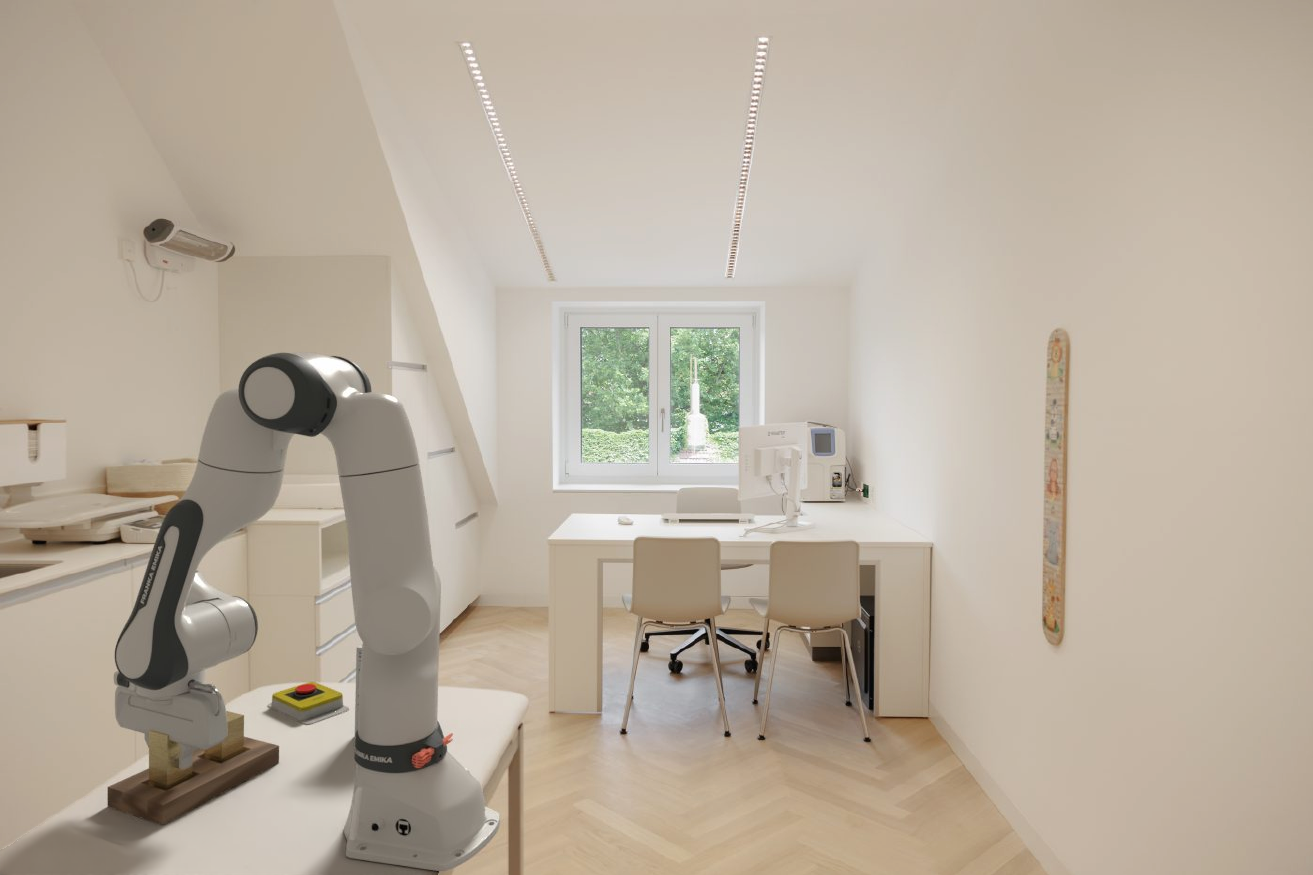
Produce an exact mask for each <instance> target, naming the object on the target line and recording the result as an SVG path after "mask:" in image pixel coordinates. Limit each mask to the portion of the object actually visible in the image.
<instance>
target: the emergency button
mask: <svg viewBox="0 0 1313 875" xmlns="http://www.w3.org/2000/svg"><path fill="white" fill-rule="evenodd" d="M343 699H344V697H343V693H342V692H339V691H338V690H335V689H333V688H331V687H328V686H325V685H324V684H321V683H319V682H316V681H308V682H305V683H301V684H298V685H296V686H291V687H290V688H286V689H284V690H280V691H276V692H274V693H273V694H272V697H271V702H270V703H268V704H267V707H268V708H269V709H272V710H273V711H275V712H278V713H280V714H282V715H284V716H286V717H288V718H290V719H293V720H295V721H296V722H299V723H301V724H303V725H305V726H307V725H309V726H310V725H314V724H316V723H319V722H322V721H325V720H327V719H330V718H332V717H335V716H338V715H340V713H341V714H343V713H342V712H344V711H346V712H348V711H350V708H349V706H346V705H344V700H343ZM347 710H348V711H347ZM335 711H336V712H335ZM344 713H345V712H344ZM337 714H338V715H337ZM334 715H335V716H334Z"/></svg>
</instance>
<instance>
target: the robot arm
mask: <svg viewBox="0 0 1313 875" xmlns="http://www.w3.org/2000/svg"><path fill="white" fill-rule="evenodd" d="M371 384H372V383H371V381H370V378H369V377H368V375H367V373H366V372H365V371H364V370H363V368H361V367H360V366H359V365H358V364H357V363H355V362H353V361H352V360H349V359H347V358H344V357H342V356H337V355H326V354H321V353H316V352H303V351H302V352H291V353H289V352H276V353H271V354H269V355H265V356H263V357H261V358H259V359H257V360H255V361H254V362H252V363H251V364H249V365H248V366H247V368H246V369H245V370H244V371H243V373H242V375H241V377H240V380H239V384H238V387H236V388H232V389H229V390H226V391H224V392H222V393H221V394H220V395H218V397H217V398H216V400H215V401H214V404H213V405H212V408H211V411H210V413H209V416H208V418H207V421H206V425H205V427H204V432H203V434H202V438H201V443H200V447H199V452H198V458H197V463H196V468H195V471H194V474H193V476H192V478H191V480H190V483H189V485H188V487H186V488H187V489H186V490H185V492H184V493H183V495H182V497H181V498H180V499H179V501H178V502H177V503H176V504H174V505H173V506H172V507H171V508H170V509H169V510H168V512H167V513H166V515H165V517H164V519H163V520H162V523H161V525H160V528H159V529H158V532H157V535H156V539H155V542H154V545H153V546H152V547H153V548H152V550H151V554H150V557H149V560H148V564H147V567H146V569H145V572H144V576H143V578H142V582H141V585H140V588H139V590H138V593H137V597H136V601H135V602H134V606H133V608H132V611H131V613H130V615H129V618H128V619H127V620H126V623H125V625H124V626H123V628H122V630H121V632H120V634H119V635H118V638H117V641H116V645H115V649H114V664H115V667H116V670H117V671H115V672H114V674H113V683H114V685H115V686H116V689H115V691H114V716H115V720H116V722H117V724H118V726H119V727H120V728H123V729H126V730H127V729H128V730H131V731H134V732H138V733H141V734H144V741H145V742H146V745H147V747H148V749H149V730H152V731H156V732H160V733H163V734H167V735H169V740H170V741H174V742H178V743H179V748H180V749H182V750H181V753H180V755H179V756H177V757H175V767H176V768H179V769H182V770H184V769H186V768H188V767H190V766H191V765H192V755H193V753H194V752H195V750H196V748H200V749H203V750H206V749H209V748H211V747H213V746H216V745H218V744H220V743H222V742H223V741H224V740H225V738H226V737H227V735H228V726H227V715H226V711H227V708H226V704H225V699H224V697H223V696H222V694H221V693H220V692H219V690H218V689H217V688H216V686H215V685H214V684H212V683H205V682H206V670H207V669H210V668H212V667H213V668H214V667H216V666H218V665H220V664H221V663H222V664H223V663H224V662H227V661H230V660H232V659H235V658H238V657H240V656H241V655H243V654H245V653H247V652H248V651H249V650H250V649H251V648H252V647H253V645H254V644H255V641H256V639H257V636H258V630H259V623H258V618H257V617H258V616H257V614H256V611H255V608H254V607H253V605H251V604H250V603H249V602H248V601H247V600H245V599H244V598H242V597H241V596H238V595H237V596H236V595H230V594H228V593H225V592H224V591H221V590H219V589H217V588H215V587H214V586H212V585H211V584H209V583H208V582H207V580H206V578H205V576H204V575H203V573H202V572H200V571H198V567H199V565H200V563H201V562H202V560H203V558H204V557H205V556H206V555H207V553H209V551H211V549H213V548H214V547H215V546H217V544H219V543H220V542H222V541H223V540H225V539H226V538H228V537H230V536H231V535H233V534H234V533H236V532H237V531H239V530H241V529H243V528H245V527H247V526H249V525H252V524H253V523H255V522H257V521H258V520H259V519H261V518H262V517H264V516H265V515H266V514H267V513H268V512H269V511H271V509H272V508H273V506H275V503H276V501H277V499H278V497H279V495H280V492H281V489H282V484H283V479H284V471H285V466H286V460H287V452H288V448H289V444H290V442H291V440H292V438H293V437H294V435H300V436H304V437H310V438H312V437H313V438H314V437H317V436H318V435H320V434H321V435H323V436H324V437H326V439H327V440H328V441H329V442H330V443H331V445H332V448H333V450H334V454H335V460H336V461H335V462H336V467H337V473H338V479H339V480H338V481H339V486H340V492H341V493H340V494H341V496H342V497H341V498H342V504H343V505H342V506H343V510H344V516H345V523H346V530H347V540H348V544H347V545H348V560H349V562H348V563H349V572H350V576H349V577H350V585H351V595H352V597H351V598H352V605H353V614H354V615H353V616H354V621H355V622H354V623H355V627H356V631H357V634H358V637H359V638H360V640H361V642H362V656H361V667H360V675H359V708H358V730H357V731H356V733H355V732H354V745H353V752H354V758H353V759H354V761H355V762H356V768H355V769H356V770H355V779H354V785H353V786H354V787H353V792H352V799H351V804H350V809H349V812H348V815H347V818H346V822H345V825H344V830H343V832H344V836H345V838H346V841H347V843H346V846H345V856H346V857H347V858H349V859H354V860H355V859H356V860H363V861H366V862H367V861H369V862H374V863H381V864H389V865H395V866H403V867H408V868H415V869H421V870H422V869H423V870H430V871H434V872H435V871H437V872H446V871H449V870H451V869H453V868H457V867H458V866H461V865H462V864H464V863H466V862H467V861H469V860H471V858H474V857H475V856H476V855H477V854H478V853H479V852H481V851H482V850H483V849H484V848H485V847H486V846H487V845H488V844H489V843H490V842H491V841H492V839H493V838H494V837H495V835H496V834H497V833H498V831H499V828H500V825H501V815H500V814H501V813H500V812H499V811H496V810H494V809H492V808H489V807H488V806H486V805H485V797H484V796H485V795H484V791H483V787H482V785H481V783H480V781H479V780H478V779H477V778H476V777H474V775H473V774H471V773H470V770H469V769H468V768H466V767H465V766H463V765H462V764H461V763H460V762H459V761H458V760H457V758H455V757H454V756H453V755H452V754H451V753H450V752H449V751H448V745H449V743H451V742H452V741H453V740H454V738H452V737H453V733H452V732H451V733H449V734H448V735H446V736H444V733H443V729H442V727H441V724H440V722H439V721H438V707H439V704H438V702H439V700H438V699H439V666H440V664H439V662H440V661H439V660H440V659H439V658H440V635H441V634H440V632H441V631H440V629H441V628H440V627H441V601H442V600H441V598H442V596H441V594H442V585H441V584H442V583H441V578H440V575H439V573H438V571H437V569H436V567H435V566H434V562H433V556H432V554H433V553H432V545H431V538H430V527H429V516H428V509H427V503H426V497H425V490H424V483H423V478H422V477H423V476H422V472H421V464H420V458H419V452H418V448H417V445H416V444H417V443H416V440H415V436H414V432H413V429H412V426H411V423H410V421H409V416H408V414H407V413H406V412H407V411H406V410H405V409H406V408H404V405H403V404H402V403H401V402H400V400H399V399H398V398H396V397H394V396H393V395H389V394H386V393H383V392H378V391H377V392H375V391H372V386H371Z"/></svg>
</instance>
